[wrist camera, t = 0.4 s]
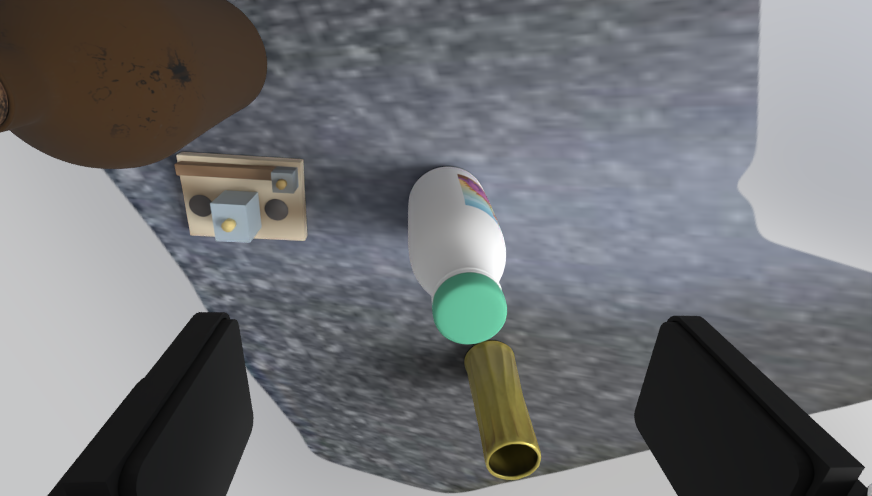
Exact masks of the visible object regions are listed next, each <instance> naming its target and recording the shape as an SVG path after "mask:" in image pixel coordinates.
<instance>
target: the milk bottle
mask: <svg viewBox="0 0 872 496" xmlns="http://www.w3.org/2000/svg"><path fill="white" fill-rule="evenodd" d="M408 247H409V257H410V263H411V266H412V270H413V272H414V274H415V276H416V278H417V280H418V282H419V283H420V285H421V286H422V287H423V288H424V289H425V290H426V291H427V292H428V293H429V294H430V295H431V296H432V311H433V318H434V322H435V325H436V327H437V328H438V330H439V331H440V333H441V334H442V335H443V336H445V337H446V338H447V339H449V340H451V341H453V342H456V343H460V344H476V343H480V342H483V341H486V340H488V339H490V338H491V337H493V336H494V335H495V334H496V333H498V331H499V330H500V329H501V328H502V326H503V324H504V322H505V320H506V315H507V305H506V301H505V297H504V294H503V292H502V289H501V286H500V284H499V280H500V278H501V276H502V274H503V271H504V267H505V260H506V249H505V242H504V238H503V235H502V232H501V229H500V226H499V224H498V221H497V219H496V217H495V214H494V212H493V210H492V207H491V205H490V203H489V201H488V199H487V196H486V194H485V192H484V190H483V188H482V186H481V185H480V183H479V182H478V180H477V179H476V178H475V177H474V176H473V175H472V174H470V173H469V172H467V171H465V170H463V169H460V168H456V167H440V168H436V169H433V170H431V171H429V172H427V173H425V174H424V175H423V176H421V177H420V178H419V179H418V181H417V182H416V183H415V184H414V186H413V188H412V190H411V193H410V196H409V204H408Z"/></svg>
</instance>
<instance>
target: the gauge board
mask: <svg viewBox="0 0 872 496" xmlns="http://www.w3.org/2000/svg"><path fill="white" fill-rule="evenodd" d="M176 156H177V163H176V164H174V165H175V170H176V175H180V179H181V184H182V190H183V195H184V201H185V207H186V212H187V218H188V223H189V229H190V235H193V236H214V237H215V233H214V226H213V219H212V213H211V206H210V203H211V202H212V201H213V200H215V199H216V198H217V197H218V196H219V195H220V194H221V193H223V192H224V191H225V190H230V191H248V192H258V196H259V206H260V216H261V226H262V227H261V229H260V230H259V231H258V233H257V234H256V235H255V237H254V238H257V239H278V240H299V241H305V239H306V237H307V222H306V203H305V184H304V165H303V159H292V158H275V157H259V156H243V155H227V154H211V153H195V152H181V153H179V154H177V155H176Z"/></svg>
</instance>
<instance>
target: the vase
mask: <svg viewBox="0 0 872 496" xmlns="http://www.w3.org/2000/svg"><path fill="white" fill-rule="evenodd" d="M464 364H465V368H466V371H467V373H468V379H469V384H470V389H471V393H472V398H473V402H474V407H475V412H476V416H477V421H478V426H479V431H480V436H481V441H482V447H483V453H484V459H485V463H486V466H487V469H488V471H489V472H490V473H491V474H492V475H494V476H496V477H498V478H501V479H507V480H515V479H520V478H523V477H526V476H528V475H530V474H531V473H533V472H534V471H535V470H536V469H537V468H538V466H539V464H540V461H541V452H540V449H539V446H538V443H537V440H536V436H535V433H534V430H533V427H532V423H531V420H530V417H529V414H528V410H527V407H526V404H525V401H524V398H523V394H522V390H521V385H520V380H519V376H518V371H517V367H516V362H515V357H514V353H513V351H512V349H511V348H510V347H509V346H507V345H506V344H504V343H501V342H499V341H484V342H481V343H478V344H477V345H475V346H473V347H472V348H471V349H470V350H469V351H468V353H467V354H466V357H465V361H464Z"/></svg>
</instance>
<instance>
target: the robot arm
mask: <svg viewBox="0 0 872 496" xmlns="http://www.w3.org/2000/svg"><path fill="white" fill-rule="evenodd" d="M634 418H635V423H636V426H637V428H638V430H639V432H640V434H641V435H642V437H643V439H644V440H645V442H646V444H647V445H648V447H649V449H650V450H651V452H652V453H653V455H654V457H655V458H656V460H657V462H658V463H659V465H660V467H661V468H662V470H663V472H664V473H665V475H666V477H667V479H668V480H669V482H670V483H671V485H672V487H673V489H674V490H675V492H676V494H677V495H678V496H872V484H870V485H869V486H868V488H867V487H865V486H864V485H863V484H862V483H861V482H860V481H859V480H858V477H859V476H860V474H861V473H862V470H863V469H864V468H865V467H864V466H863V465H862V464H861V463H860V462H859V461H858V460H857V459H855V458H854V457H853V456H852V455H851V454H850V453H849V452H848V451H847V450H846V449H845V448H844V447H842V446H841V445H840V444H839V443H838V442H837V441H836V440H835V439H834V438H833V437H832V436H831V435H829V434H828V433H827V432H826V431H825V430H824V429H823V428H822V427H821V426H819V424H817V423H816V422H815V421H814V420H813V419H812V418H811V417H810V416H809V415H808V414H807V413H806V412H804V411H803V410H802V409H801V408H800V407H799V406H798V405H797V404H796V403H795V402H794V401H793V400H791V399H790V398H789V397H788V396H787V395H786V394H785V393H784V392H783V391H782V390H781V389H780V388H778V387H777V386H776V385H775V384H774V383H773V382H772V381H771V380H770V379H769V378H768V377H766V376H765V375H764V374H763V373H762V372H761V371H760V370H759V369H758V368H757V367H756V366H755V365H753V364H752V363H751V362H750V361H749V360H748V359H747V358H746V357H745V356H744V355H743V354H742V353H740V352H739V351H738V350H737V349H736V348H735V347H734V346H733V345H732V344H731V343H730V342H728V341H727V340H726V339H725V338H724V337H723V336H722V335H721V334H720V333H719V332H718V331H717V330H715V329H714V328H713V327H712V326H711V325H710V324H709V323H708V322H707V321H706V320H705V319H703V318H702V317H700V316H672V317H670V318H669V319H668V321H667V322H665V323H663V324H662V325H661V327H660V330H659V333H658V336H657V340H656V343H655V346H654V350H653V353H652V356H651V359H650V363H649V366H648V369H647V373H646V376H645V379H644V383H643V386H642V389H641V392H640V396H639V399H638V402H637V406H636V409H635V413H634ZM252 427H253V410H252V404H251V398H250V392H249V385H248V379H247V373H246V367H245V361H244V354H243V348H242V342H241V336H240V330H239V324H238V322H237V320H235V319H230V317H229V315H228V314H227V313H225V312H199V313H196V314H195V315H194V316H193V317H192V318H191V319H190V321H189V322H188V323H187V325H186V326H185V327H184V328H183V330H182V331H181V332H180V333H179V335H178V336H177V337H176V338H175V340H174V341H173V342H172V344H171V345H170V346H169V347H168V349H167V350H166V351H165V352H164V354H163V355H162V356H161V357H160V359H159V360H158V361H157V363H156V364H155V365H154V366H153V368H152V369H151V370H150V371H149V373H148V374H147V375H146V376H145V378H143V379H141V380H140V382H138V383H137V384H136V385H135V387H134V388H133V389H132V390H131V392H130V393H129V394H128V395H127V397H126V398H125V399H124V400H123V402H122V403H121V404H120V405H119V407H118V408H117V409H116V410H115V412H114V413H113V414H112V415H111V417H110V418H109V419H108V420H107V422H106V423H105V424H104V426H103V427H102V428H101V429H100V430H99V432H98V433H97V434H96V435H95V437H94V438H93V439H92V441H91V442H90V443H89V444H88V446H87V447H86V448H85V449H84V451H83V452H82V453H81V454H80V456H79V457H78V458H77V459H76V461H75V462H74V463H73V464H72V466H71V467H70V468H69V469H68V471H67V472H66V473H65V474H64V476H63V477H62V478H61V480H60V481H59V482H58V483H57V484H56V486H55V487H54V488H53V489H52V491H51V492H50V493H49V494H48V496H226V494H227V492H228V489H229V486H230V484H231V481H232V479H233V476H234V474H235V472H236V469H237V467H238V464H239V462H240V459H241V457H242V454H243V452H244V449H245V447H246V444H247V442H248V439H249V437H250V434H251V431H252Z"/></svg>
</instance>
